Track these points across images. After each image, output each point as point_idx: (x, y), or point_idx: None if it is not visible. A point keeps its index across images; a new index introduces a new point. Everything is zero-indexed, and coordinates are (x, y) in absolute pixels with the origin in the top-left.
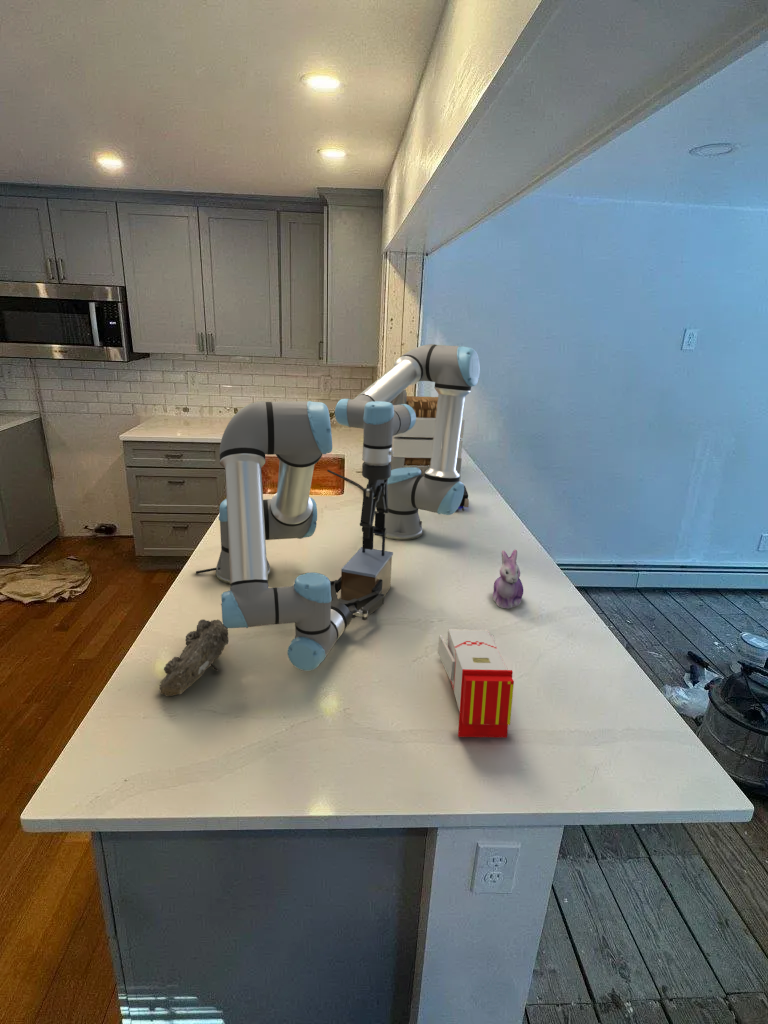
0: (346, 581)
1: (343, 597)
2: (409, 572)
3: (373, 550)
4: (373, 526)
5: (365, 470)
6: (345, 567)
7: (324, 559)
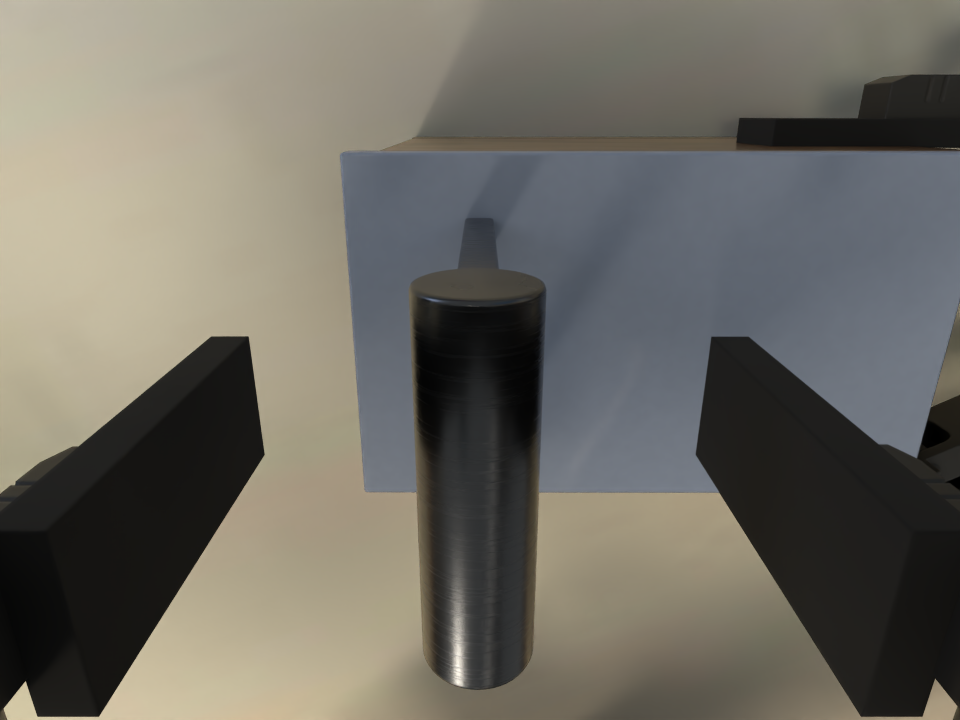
0: None
1: None
2: (98, 68)
3: (396, 363)
4: (947, 529)
5: None
6: None
7: (230, 631)
